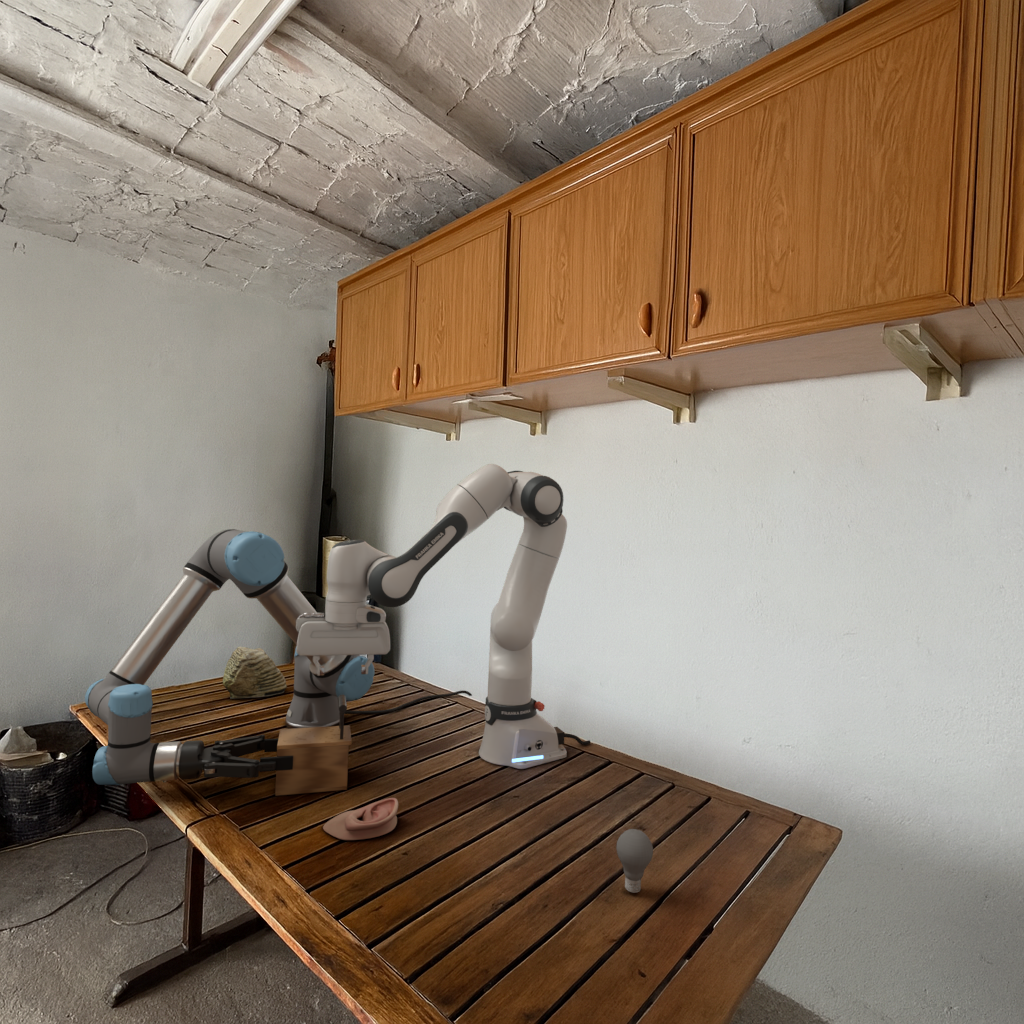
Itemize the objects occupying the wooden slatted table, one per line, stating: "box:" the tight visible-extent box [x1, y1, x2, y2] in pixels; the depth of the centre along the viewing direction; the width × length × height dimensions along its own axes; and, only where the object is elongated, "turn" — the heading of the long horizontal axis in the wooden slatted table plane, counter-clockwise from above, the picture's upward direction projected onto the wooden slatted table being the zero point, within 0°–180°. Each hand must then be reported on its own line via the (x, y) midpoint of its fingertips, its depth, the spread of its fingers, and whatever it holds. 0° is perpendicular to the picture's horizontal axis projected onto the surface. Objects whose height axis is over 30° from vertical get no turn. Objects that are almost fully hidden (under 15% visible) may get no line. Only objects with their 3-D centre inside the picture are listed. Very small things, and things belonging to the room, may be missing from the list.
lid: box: [277, 694, 352, 749], centre depth 140 cm, size 15×10×8 cm, turn 107°
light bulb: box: [615, 828, 654, 894], centre depth 106 cm, size 6×6×10 cm
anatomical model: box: [322, 797, 399, 841], centre depth 122 cm, size 13×4×12 cm
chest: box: [274, 745, 350, 797], centre depth 140 cm, size 15×10×10 cm, turn 107°
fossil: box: [222, 646, 288, 699], centre depth 198 cm, size 9×18×15 cm, turn 132°
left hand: (294, 752), depth 139 cm, fingers closed on chest, 10 cm apart
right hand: (342, 674), depth 141 cm, fingers open, 8 cm apart
